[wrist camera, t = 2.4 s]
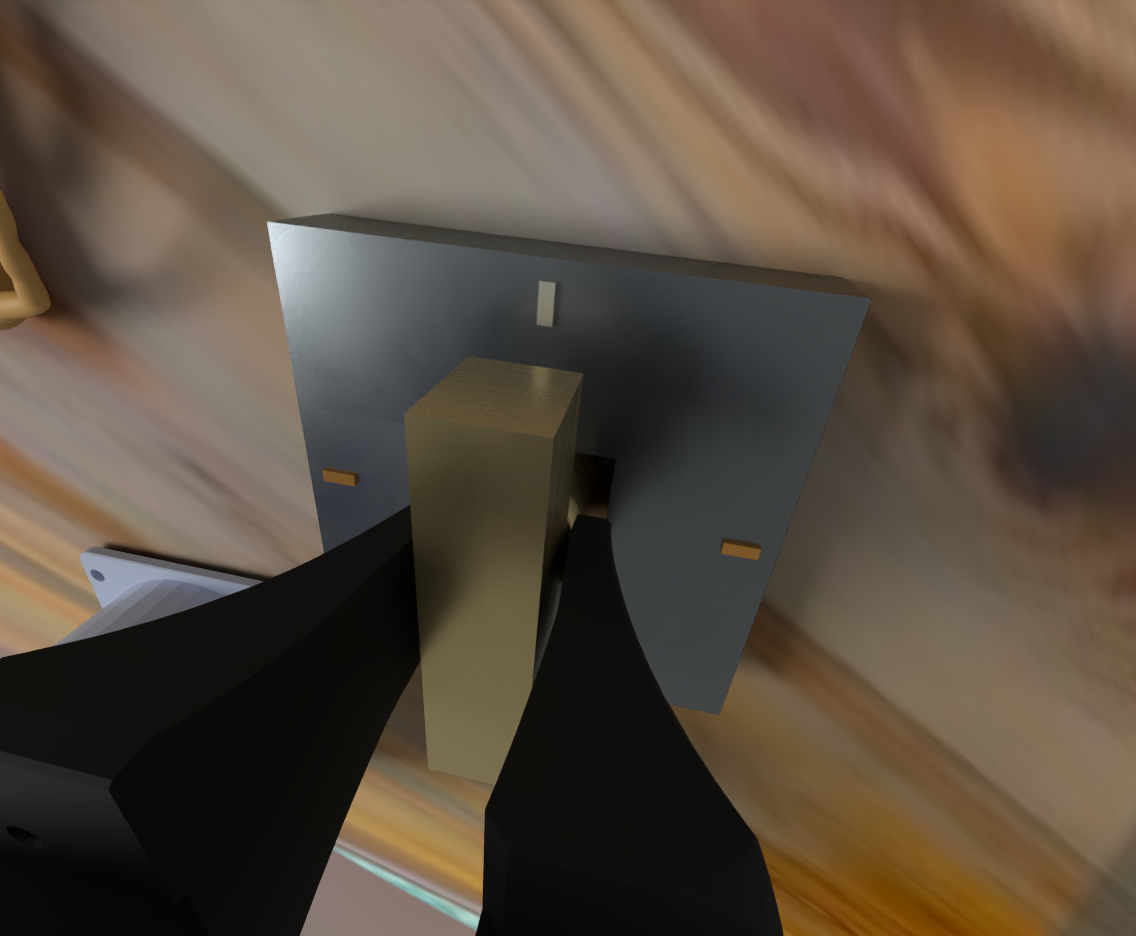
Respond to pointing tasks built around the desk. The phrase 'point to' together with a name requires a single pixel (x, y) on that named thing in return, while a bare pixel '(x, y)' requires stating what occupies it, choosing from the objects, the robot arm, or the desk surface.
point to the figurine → (17, 276)
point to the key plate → (583, 398)
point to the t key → (490, 547)
